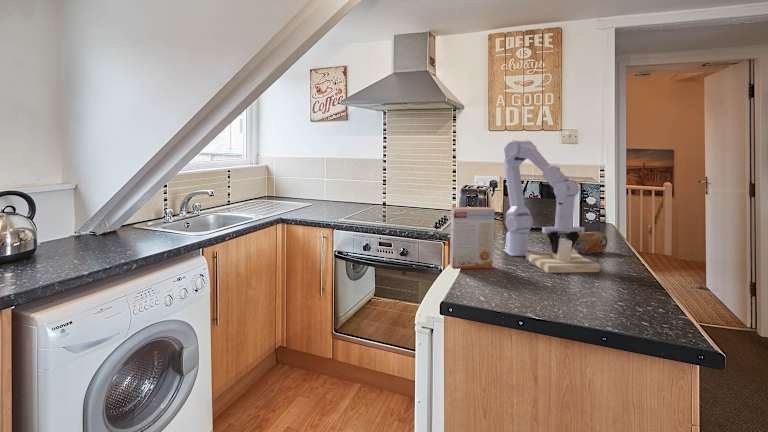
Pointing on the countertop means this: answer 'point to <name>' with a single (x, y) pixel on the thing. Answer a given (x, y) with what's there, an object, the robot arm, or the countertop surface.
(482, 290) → the countertop surface
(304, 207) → the countertop surface
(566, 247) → the keyed peg
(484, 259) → the cracker box
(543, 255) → the socket plate
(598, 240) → the tin
